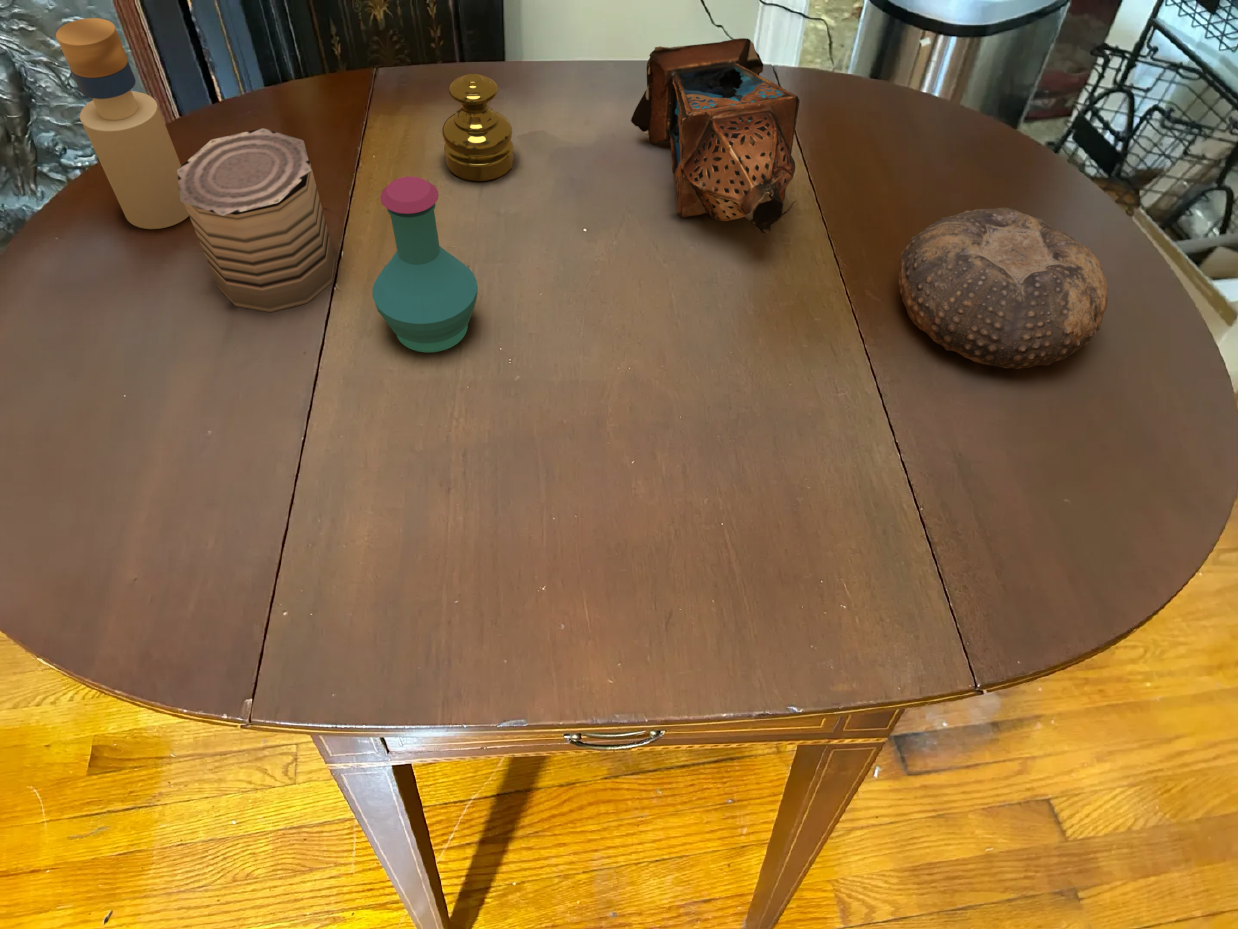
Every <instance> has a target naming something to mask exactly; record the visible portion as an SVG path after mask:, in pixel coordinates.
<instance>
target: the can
mask: <svg viewBox="0 0 1238 929" xmlns="http://www.w3.org/2000/svg"><path fill="white" fill-rule="evenodd" d="M308 156H309V155H308V153H307V148H306V145H305V141H304V140H303V139H300V138H297V137H294V136H291V135H287V134H283V133H281V132H278V131H274V130H270V129H268V128H265V127H264V128H263V127H261V128H257V129H253V130H248V131H243V132H240V133H239V132H238V133H235V134H231V135H227V136H226V135H225V136H221V137H218V138H212V139H210V140H209V141H208V142H207V143H206V144H205V145H203V146H202V147H201V148H200V149H199V150H198V151H197V152H195V153H194V154H193V155H191V157H190V158H189V159H188V160H186V161H185V162H184V163H183V164H181V167H179V168H178V169H177V174H178V182H179V192H180V199H181V202H183V203H184V204H185V207H186V209H187V212H188V214H189V216H188V218H189V219H190V221H191V224H192V226H193V229H194V232H195V234H196V236H197V239H198V241H199V244H200V247H201V249H202V251H203V254H204V257H205V259H206V261H207V263H208V266H209V269H210V271H211V275H212V277H213V279H214V282H215V284H216V286H217V288H218V289H219V291H220V292H222V294H224V295H225V297H226V298H227V299H228V300H229V301H230V302H231V303H232V304H233V305H234V307H238V308H244V309H249V310H255V311H260V312H266V313H274V312H277V311H282V310H285V309H289V308H294V307H298V306H301V305H306V304H308V303H310V302H311V301H312V300H313V299H315V298H316V297H317V296H319V295H320V293H322V292H323V291H324V290H325V289H327V288H328V287H329V286H330V285H331V284H333V281H334V272H335V264H336V256H335V252H334V248H333V244H332V241H331V236H330V234H329V229H328V225H327V221H326V218H325V214H324V210H323V206H322V203H321V199H320V195H319V191H318V187H317V184H316V179H315V175H314V172H313V167H312V164H311V162H310V160H309V157H308Z"/></svg>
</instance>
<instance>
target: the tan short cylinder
mask: <svg viewBox="0 0 1238 929" xmlns="http://www.w3.org/2000/svg"><path fill="white" fill-rule="evenodd" d="M55 38H56V40H57V42H58V45H59V47H60V49H61V51H62V54H63V55H64V58H65V61H66V62H67V64H68V66H69V70H70V69H71V70H70V72H71V71H72V72H73V73H74V74H76V75H78V76H81V77H87V78H97V77H104V76H108V75H112V74H114V73H117V72H118V71H120V70H122V69H123V68H124V67H125V66H126V65H127V63H128V62H129V58H128V55H127V53H126V50H125V49H124V45H123V43H122V41H121V39H120V36H119V33H118V30H117V28H116V26H115V24H114V23H113V22H112V21H111V20H108V19H104V18H98V17H87V18H81V19H76V20H73V21H70V22H67V23H65V24H63V25H62V26H60V27H59V28H58V29H57V30H56V34H55Z"/></svg>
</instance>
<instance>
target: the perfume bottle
mask: <svg viewBox="0 0 1238 929" xmlns="http://www.w3.org/2000/svg"><path fill="white" fill-rule="evenodd" d="M379 198H380V202H381V204H382V205H383V207H384V208H386V211H387V212H388V214H389V216H390V219H391V220H390V221H391V226H392V231H393V235H394V236H393V237H394V242H395V246H396V252H395V253H394V254H393V255H392V257H391V259H390V260H389V261H388V262H387V263H386V265H385V266H384V267H383V269H382V270H381V271H380V273H379V274H378V275H377V277H376V278H375V281H374V283H373V286H372V290H371V291H372V292H371V293H372V299H373V302H374V304H375V307H376V310H377V312H378V313H379V315H380V316H381V317H382V319H383V320H384V322H385V323H386V324H387V325H388V326H389V328H390V329H391V330H392V332H393V333H394V334H395V335H396V338H397V339H398V341H399V342H400V343H401V344H402V345H403V346H404V347H406V348H407V349H409V350H412V351H415V352H419V353H439V352H443V351H446V350H448V349H451V348H452V347H454V346H455V345H458V344H459V343H460V342H461V341H462V340H463V339H464V337H465V336H466V334H467V331H468V327H469V325H468V324H469V323H470V321H471V317H472V314H473V311H474V309H475V306H476V303H477V298H478V281H477V277H476V276H475V273H474V272H473V271H472V270H471V268H470V267H468V266H467V265H466V264H465V263H463V262H462V261H461V260H460V259H458V258H457V257H455V256H454V255H453V254H451V253H450V252H448V251H447V250H446V249H444V248H443V247H442V246H441V245H440V241H439V235H438V234H439V233H438V227H437V222H436V214H435V209H436V204H437V201H438V199H439V190H438V188H437V187H436V185H434V184H433V183H431V182H429V180H425V179H424V178H421V177H417V176H402V177H399V178H398V177H397V178H396V179H394V180H393V181H391V182H389V183H388V184H387V185H386V186H385V188H383V189H382V191H381V193H380V196H379Z"/></svg>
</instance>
